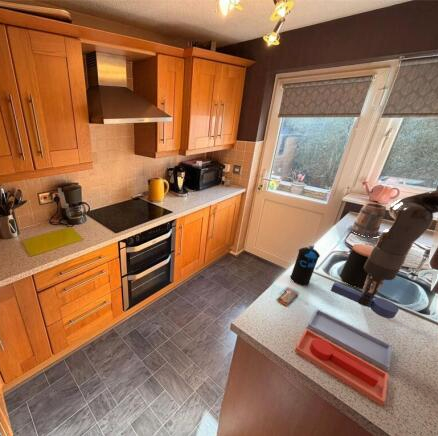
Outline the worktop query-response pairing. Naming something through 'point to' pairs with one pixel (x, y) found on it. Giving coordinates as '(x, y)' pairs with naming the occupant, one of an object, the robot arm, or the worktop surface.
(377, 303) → the blue spoon
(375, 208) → the tankard
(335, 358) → the red spoon
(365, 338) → the blue tray
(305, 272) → the aerosol can
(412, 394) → the worktop surface
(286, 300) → the chocolate bar
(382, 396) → the red tray
